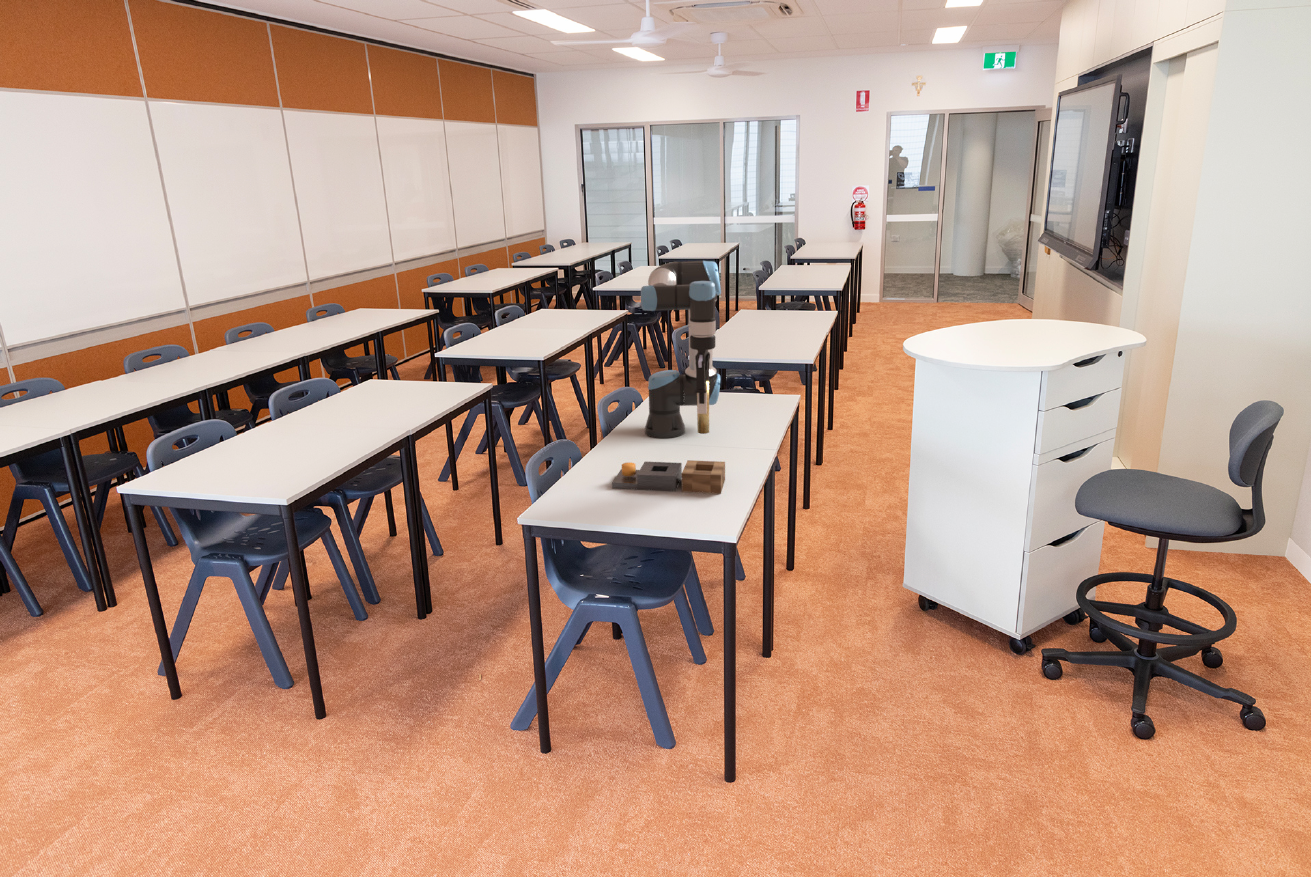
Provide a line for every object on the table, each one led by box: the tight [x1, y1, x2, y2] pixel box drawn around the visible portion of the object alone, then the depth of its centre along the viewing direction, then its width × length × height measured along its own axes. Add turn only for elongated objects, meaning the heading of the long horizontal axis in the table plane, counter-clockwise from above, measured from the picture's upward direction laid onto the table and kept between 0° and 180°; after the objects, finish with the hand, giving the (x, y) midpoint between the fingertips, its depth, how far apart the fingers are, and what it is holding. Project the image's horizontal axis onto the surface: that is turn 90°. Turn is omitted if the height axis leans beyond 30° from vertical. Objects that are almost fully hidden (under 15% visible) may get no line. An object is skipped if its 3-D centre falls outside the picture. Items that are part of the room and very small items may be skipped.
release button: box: [621, 461, 637, 476], centre depth 252 cm, size 4×4×3 cm
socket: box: [611, 461, 683, 492], centre depth 251 cm, size 12×20×5 cm, turn 79°
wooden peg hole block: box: [681, 459, 726, 495], centre depth 247 cm, size 12×12×6 cm
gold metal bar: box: [696, 380, 710, 435], centre depth 240 cm, size 4×4×16 cm
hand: (703, 411), depth 241 cm, fingers closed on gold metal bar, 3 cm apart
